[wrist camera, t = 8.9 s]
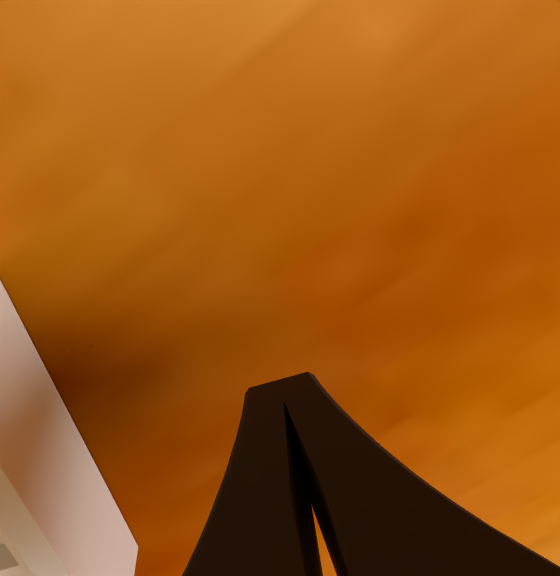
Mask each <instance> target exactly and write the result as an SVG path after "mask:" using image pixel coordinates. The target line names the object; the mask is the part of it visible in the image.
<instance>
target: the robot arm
mask: <svg viewBox="0 0 560 576" xmlns="http://www.w3.org/2000/svg"><path fill="white" fill-rule="evenodd" d="M311 504H312V505H311ZM312 507H313V510H314V513H315V515H316V518H317V521H318V524H319V527H320V529H321V532H322V535H323V538H324V540H325V543H326V546H327V549H328V552H329V554H330V557H331V560H332V563H333V565H334V568H335V571H336V574H337V576H560V567H559V566H558V565H556V564H554V563H552V562H551V561H549V560H547V559H546V558H544V557H542V556H541V555H539V554H537V553H535V552H534V551H532V550H530V549H529V548H527V547H525V546H524V545H522V544H520V543H518V542H517V541H515V540H513V539H512V538H510V537H508V536H507V535H505V534H503V533H501V532H500V531H498V530H496V529H495V528H493V527H491V526H490V525H488V524H487V523H485V522H484V521H482V520H481V519H479V518H477V517H476V516H474V515H473V514H471V513H470V512H468V511H467V510H465V509H464V508H462V507H461V506H459V505H458V504H456V503H455V502H453V501H452V500H451V499H449V498H448V497H446V496H445V495H444V494H442V493H441V492H439V491H438V490H436V489H435V488H434V487H432V486H431V485H429V484H428V483H427V482H425V481H424V480H423V479H421V478H420V477H419V476H418V475H416V474H415V473H414V472H412V471H411V470H410V469H409V468H407V467H406V466H405V465H404V464H402V463H401V462H400V461H399V460H397V459H396V458H395V457H394V456H393V455H391V454H390V453H389V452H388V451H387V450H385V449H384V448H383V447H382V446H381V445H380V444H379V443H377V442H376V441H375V440H374V439H373V438H372V437H371V436H370V435H369V434H367V433H366V432H365V431H364V430H363V429H362V428H361V427H360V426H359V425H358V424H357V423H356V422H355V421H354V420H353V419H352V418H351V417H350V416H349V415H348V414H347V413H346V412H345V411H344V410H343V409H342V408H341V407H340V406H339V405H338V404H337V403H336V402H335V401H334V400H333V398H332V397H331V396H330V395H329V394H328V393H327V392H326V390H325V389H324V388H323V387H322V385H321V384H320V383H319V381H318V380H317V379H316V377H315V376H314V375H313V374H311V373H309V372H305V373H302V374H298V375H294V376H291V377H287V378H283V379H280V380H276V381H272V382H269V383H265V384H262V385H258V386H254V387H251V388H249V389H248V390H247V392H246V393H245V399H244V406H243V411H242V416H241V420H240V425H239V428H238V432H237V436H236V440H235V443H234V446H233V450H232V453H231V456H230V460H229V463H228V466H227V469H226V472H225V475H224V478H223V481H222V483H221V486H220V489H219V491H218V494H217V497H216V499H215V502H214V505H213V507H212V510H211V513H210V515H209V518H208V520H207V523H206V525H205V527H204V530H203V532H202V534H201V537H200V539H199V541H198V543H197V546H196V548H195V550H194V552H193V554H192V556H191V558H190V561H189V563H188V565H187V567H186V569H185V571H184V573H183V575H182V576H323V573H322V567H321V561H320V555H319V548H318V542H317V536H316V530H315V524H314V518H313V511H312Z"/></svg>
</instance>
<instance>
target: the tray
mask: <svg viewBox="0 0 560 576" xmlns="http://www.w3.org/2000/svg"><path fill="white" fill-rule="evenodd" d="M137 552H138V545H137V543H136V542H135V540H134V538H133V536H132V534H131V532H130V530H129V528H128V526H127V524H126V522H125V520H124V518H123V516H122V515H121V513H120V511H119V509H118V507H117V505H116V503H115V501H114V499H113V497H112V495H111V493H110V491H109V489H108V487H107V486H106V484H105V482H104V480H103V478H102V476H101V474H100V472H99V470H98V468H97V466H96V464H95V462H94V460H93V459H92V457H91V455H90V453H89V451H88V449H87V447H86V445H85V443H84V441H83V439H82V437H81V435H80V433H79V431H78V430H77V428H76V426H75V424H74V422H73V420H72V418H71V416H70V414H69V412H68V410H67V408H66V406H65V404H64V403H63V401H62V399H61V397H60V395H59V393H58V391H57V389H56V387H55V385H54V383H53V381H52V379H51V377H50V375H49V374H48V372H47V370H46V368H45V366H44V364H43V362H42V360H41V358H40V356H39V354H38V352H37V350H36V348H35V347H34V345H33V343H32V341H31V339H30V337H29V335H28V333H27V331H26V329H25V327H24V325H23V323H22V321H21V319H20V318H19V316H18V314H17V312H16V310H15V308H14V306H13V304H12V302H11V300H10V298H9V296H8V294H7V292H6V291H5V289H4V287H3V285H2V283H1V281H0V576H134V572H135V565H136V559H137Z"/></svg>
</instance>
